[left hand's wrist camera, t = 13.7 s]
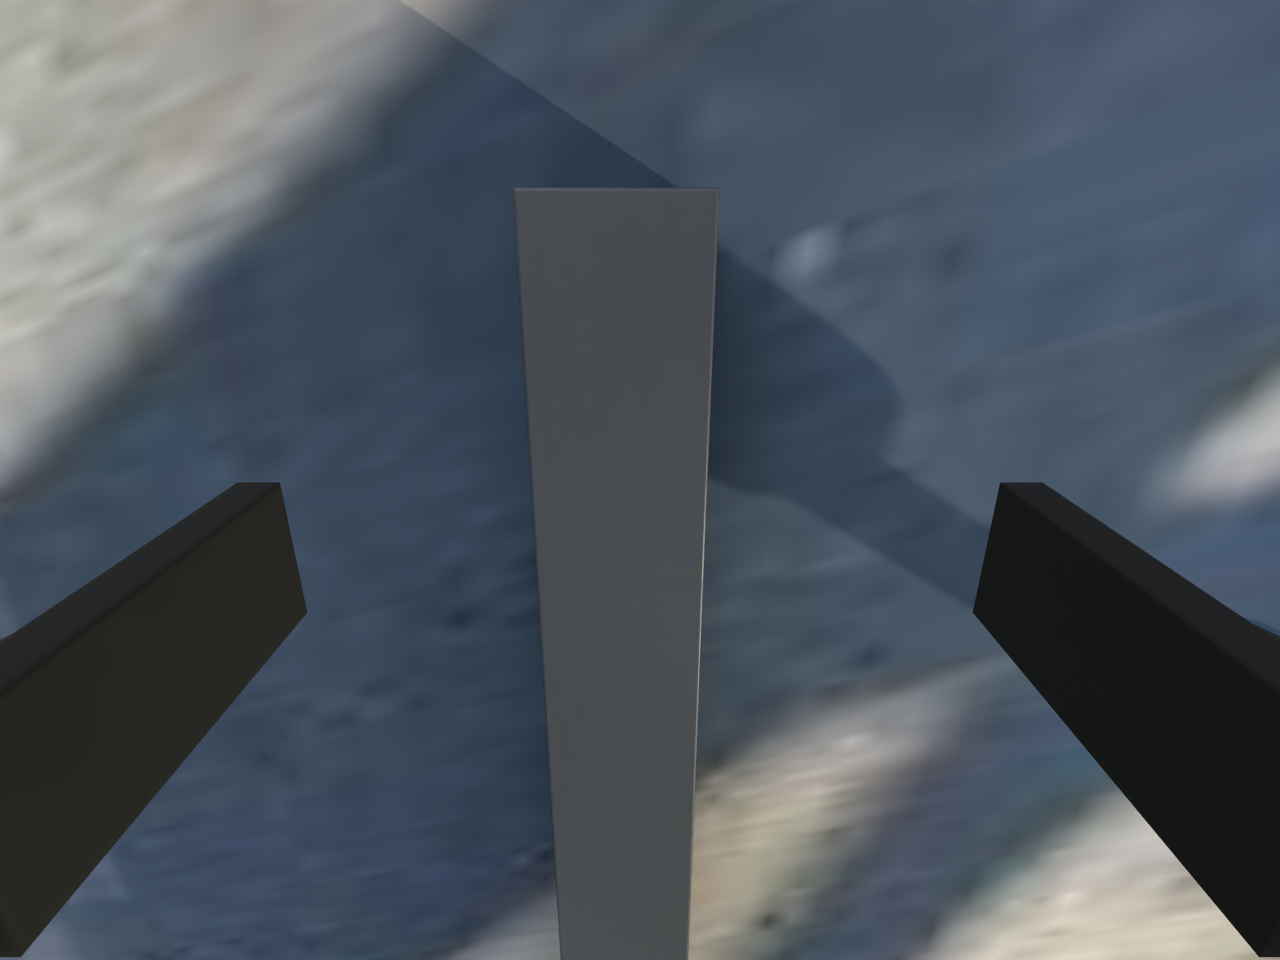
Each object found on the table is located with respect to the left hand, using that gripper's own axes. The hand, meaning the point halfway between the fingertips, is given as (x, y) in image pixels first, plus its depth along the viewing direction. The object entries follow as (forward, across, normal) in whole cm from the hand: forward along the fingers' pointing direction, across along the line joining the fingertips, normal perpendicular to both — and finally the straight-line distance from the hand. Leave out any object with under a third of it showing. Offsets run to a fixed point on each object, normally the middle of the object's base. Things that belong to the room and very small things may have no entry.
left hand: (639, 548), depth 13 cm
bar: (+15, -1, -26) cm, 30 cm away
